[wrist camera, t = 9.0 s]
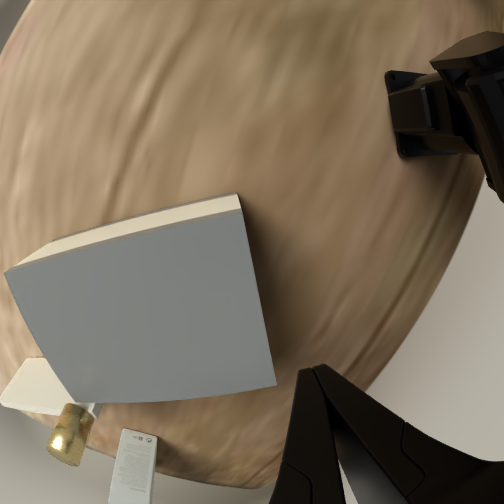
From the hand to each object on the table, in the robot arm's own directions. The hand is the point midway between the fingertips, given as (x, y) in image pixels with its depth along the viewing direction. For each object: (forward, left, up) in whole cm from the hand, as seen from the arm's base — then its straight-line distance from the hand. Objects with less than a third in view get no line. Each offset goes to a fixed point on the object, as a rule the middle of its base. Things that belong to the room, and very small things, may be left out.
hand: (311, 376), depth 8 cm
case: (+8, +1, -12) cm, 14 cm away
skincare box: (+18, +21, -12) cm, 30 cm away
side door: (+19, +7, -12) cm, 24 cm away
